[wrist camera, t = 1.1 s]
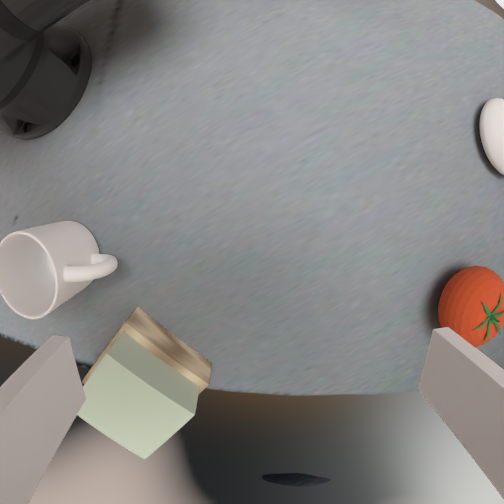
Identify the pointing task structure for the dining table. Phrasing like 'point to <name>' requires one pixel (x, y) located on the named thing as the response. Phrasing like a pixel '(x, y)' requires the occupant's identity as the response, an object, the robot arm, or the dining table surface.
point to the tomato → (473, 305)
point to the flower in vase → (493, 132)
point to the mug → (49, 266)
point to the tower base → (162, 348)
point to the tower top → (137, 397)
